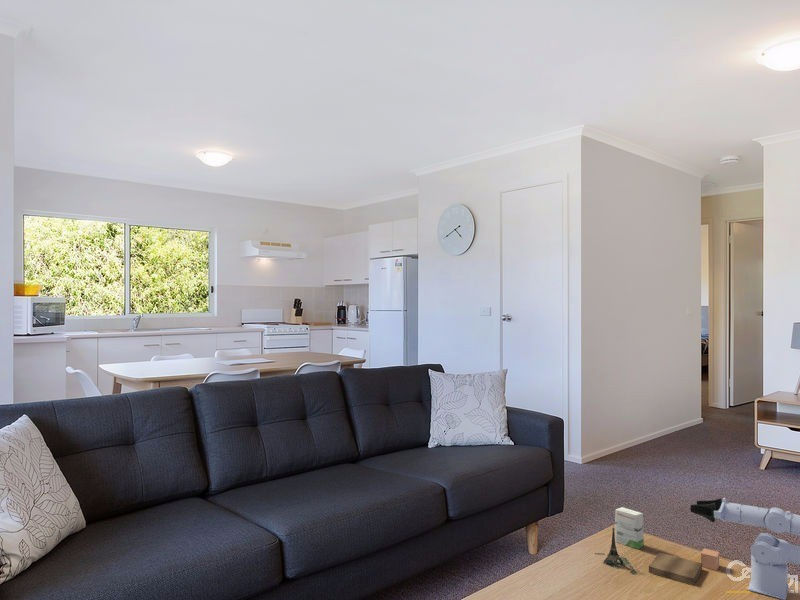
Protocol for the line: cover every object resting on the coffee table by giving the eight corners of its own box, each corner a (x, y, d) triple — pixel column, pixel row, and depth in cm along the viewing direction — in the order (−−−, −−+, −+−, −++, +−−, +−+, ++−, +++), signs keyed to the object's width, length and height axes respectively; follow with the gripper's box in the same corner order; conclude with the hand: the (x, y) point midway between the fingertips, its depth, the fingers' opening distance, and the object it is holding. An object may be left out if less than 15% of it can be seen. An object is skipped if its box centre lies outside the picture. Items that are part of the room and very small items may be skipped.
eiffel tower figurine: (638, 576, 182) (638, 534, 182) (606, 575, 183) (606, 533, 183) (623, 555, 197) (623, 516, 197) (593, 554, 198) (593, 516, 198)
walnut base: (702, 569, 186) (702, 563, 186) (693, 585, 176) (693, 578, 176) (659, 558, 194) (659, 552, 194) (648, 572, 184) (648, 566, 184)
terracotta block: (719, 565, 189) (719, 551, 189) (716, 570, 186) (716, 556, 186) (703, 561, 192) (703, 548, 192) (700, 566, 188) (700, 553, 188)
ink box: (644, 546, 204) (644, 512, 204) (637, 549, 201) (637, 516, 201) (621, 538, 211) (621, 505, 211) (614, 541, 207) (614, 508, 207)
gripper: (746, 497, 183) (699, 490, 192) (736, 504, 172) (687, 496, 181) (746, 520, 182) (699, 512, 191) (737, 529, 171) (688, 520, 180)
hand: (693, 506), depth 186 cm, fingers open, 7 cm apart
